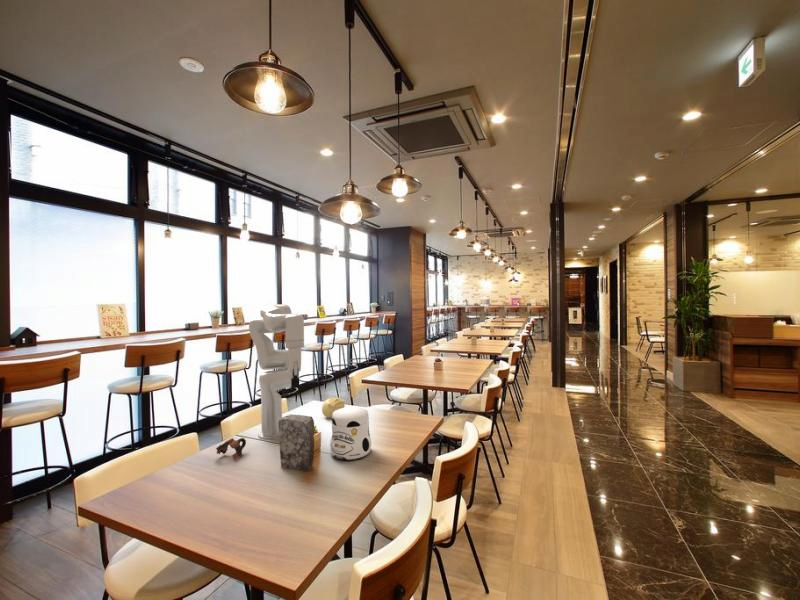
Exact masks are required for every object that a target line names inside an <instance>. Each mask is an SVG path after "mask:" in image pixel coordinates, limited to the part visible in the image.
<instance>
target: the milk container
mask: <svg viewBox="0 0 800 600" xmlns="http://www.w3.org/2000/svg"><path fill="white" fill-rule="evenodd" d="M331 422H332V423H331V437H330V443H329V449H330V453H331V455H332V456H333V457H334V458H335V459H337V460H340V461H347V462H348V461H349V462H350V461H351V462H352V461H357V460H360V459H363V458H364V457H366V456H368V455H369V453H370V452H371V449H372V438H371V436H370V417H369V411H368V409H366V408H363V407H357V406H353V407H351V406H347V407H344V408H342V409H338V410H336V411H334V412H333V415H332V418H331Z"/></svg>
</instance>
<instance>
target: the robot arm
mask: <svg viewBox="0 0 800 600" xmlns="http://www.w3.org/2000/svg"><path fill="white" fill-rule="evenodd" d="M259 316H260V317H255V318H253V319H250V321H249V324H248V331H249V335H250V337H251V339H252V342H253V343H254V346H255V350H256V355H257V360H258V365H259V368H260V369H261V370H263V371H264V372H262V373H261V374H260V375H259V377H258V383H259V389H260V400H261V401H260V402H261V405H260V407H261V409H260V410H261V411H260V413H261V431H259V432H258V435H257V436H258V438H259V439H261V440H272V439H279V423H278V422H279V419H280V418H282V417H283V407H282V406H283V403H282V402H283V399H282V396H281V395H280V393H279V392H277V391H278V390H283V389H288V388H289V389H290V388H291V389H298V388H300V372H301V369H302V349H303V348H305V320H304V319H305V318H304V316H303V315H301V314H297V313H292V309H291V307H290V306H289V305H288V304H284V303H283V304H279V303H278V304H266V305H264V306H262V308H261V310H260V315H259ZM282 332H285V333H284V335H285V349H275V346H274V342H273V340H272V339H271V338H269V336H267V335H266V334H275V333H276V334H277V333H282Z"/></svg>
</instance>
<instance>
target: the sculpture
mask: <svg viewBox="0 0 800 600" xmlns="http://www.w3.org/2000/svg"><path fill="white" fill-rule="evenodd" d="M345 404H346V403H345V401H344V400H343V399H342V398H339V397H336V396H333V397H330V398H327V399H326V400H325V401H324V402H323V404H322V407H321V412H322V415H323V416H324V417H325V418H327V419H332V415H333V412H334V411H336V410H338V409H342V408H345V407H346V406H345Z"/></svg>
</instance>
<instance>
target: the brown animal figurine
mask: <svg viewBox="0 0 800 600" xmlns="http://www.w3.org/2000/svg"><path fill="white" fill-rule="evenodd" d="M246 444H247V440H246V439H245V438H244V437H241V438H238V439H237V440H235V439H234V438H233V437H232V438H231V437H230V439H228V440H227V441H225V442H223V443H222V444H219V445H218V446H217V447H216V448H215V449H216V455H217V454H218V455H221V453H222V455H225V454H227V451H228V447H229V446H230V448H231V449H233V450H235V452H234V453H233V454H232V458H233V460H237V459H239V458H240V457H242V456H243V449H244V448H245V447H246Z"/></svg>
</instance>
